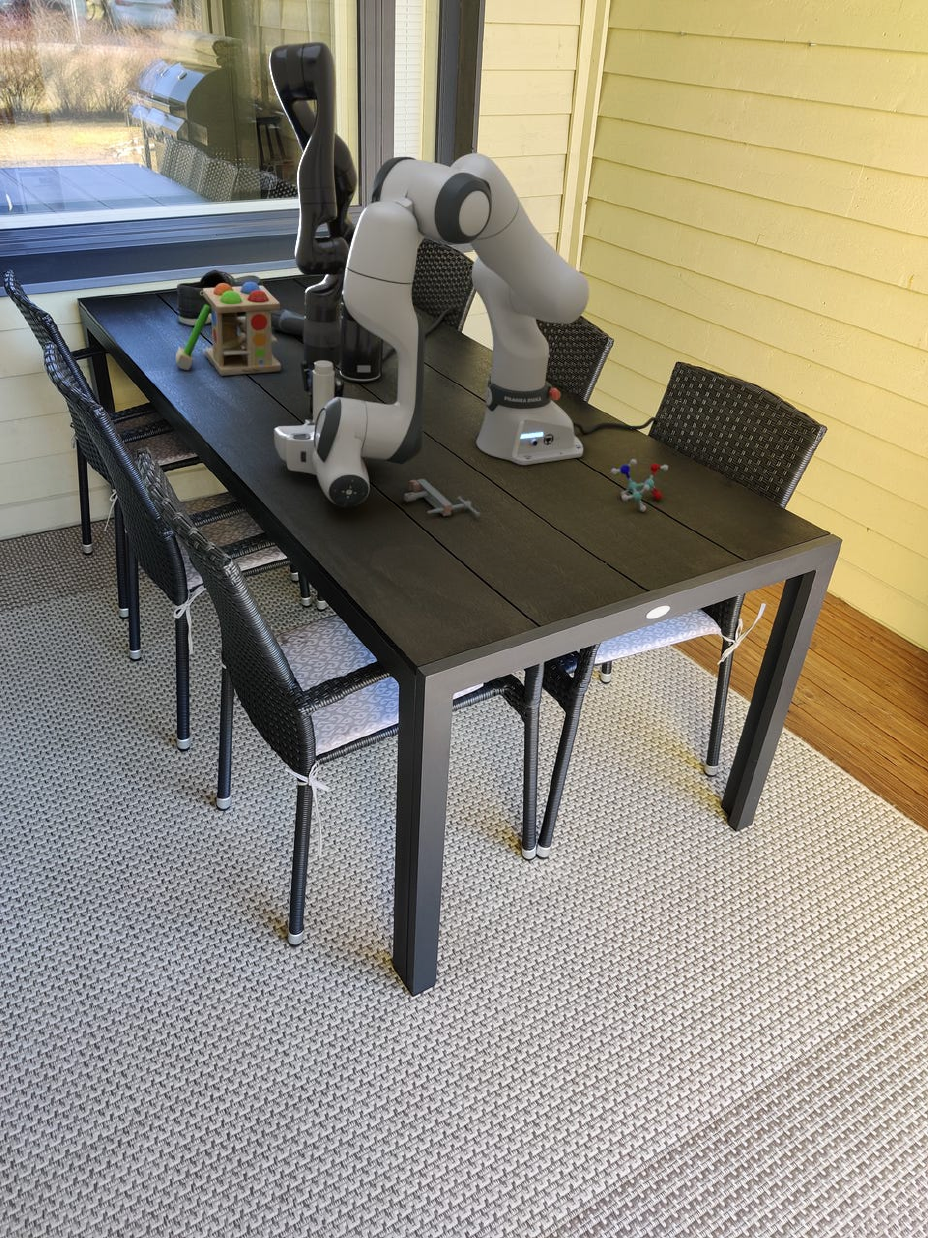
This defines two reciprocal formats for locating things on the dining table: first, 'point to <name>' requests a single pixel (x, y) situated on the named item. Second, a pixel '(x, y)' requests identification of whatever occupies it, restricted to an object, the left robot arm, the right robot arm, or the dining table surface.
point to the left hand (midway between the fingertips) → (322, 417)
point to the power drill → (288, 322)
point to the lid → (311, 407)
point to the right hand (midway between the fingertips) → (322, 422)
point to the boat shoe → (193, 297)
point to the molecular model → (633, 485)
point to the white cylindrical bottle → (322, 386)
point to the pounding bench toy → (229, 347)
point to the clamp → (434, 498)
